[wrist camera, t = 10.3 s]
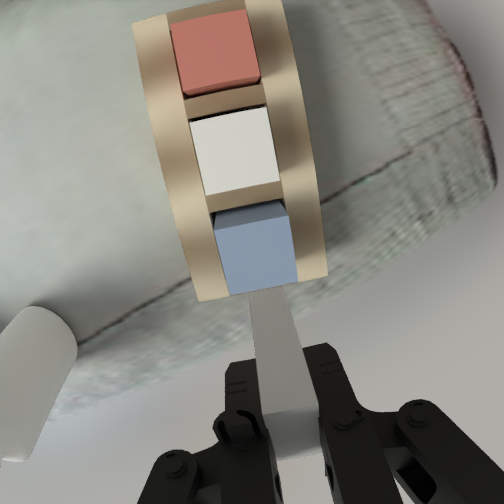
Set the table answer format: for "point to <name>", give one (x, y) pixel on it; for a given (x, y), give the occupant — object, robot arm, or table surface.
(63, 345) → the potion bottle
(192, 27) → the red key
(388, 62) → the table surface
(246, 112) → the white key
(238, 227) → the blue short block
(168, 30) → the wooden block holder
